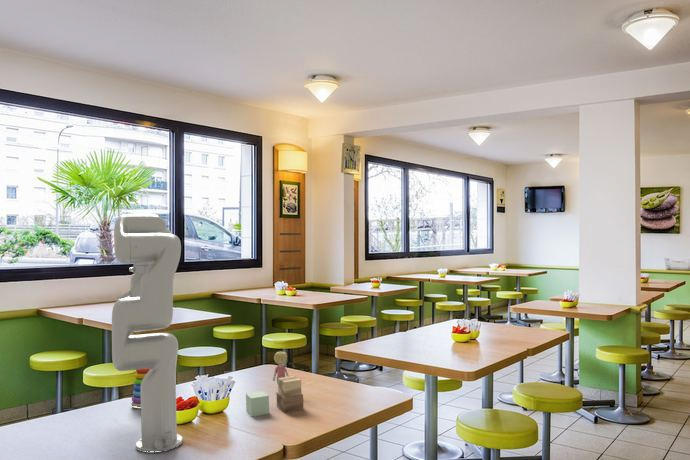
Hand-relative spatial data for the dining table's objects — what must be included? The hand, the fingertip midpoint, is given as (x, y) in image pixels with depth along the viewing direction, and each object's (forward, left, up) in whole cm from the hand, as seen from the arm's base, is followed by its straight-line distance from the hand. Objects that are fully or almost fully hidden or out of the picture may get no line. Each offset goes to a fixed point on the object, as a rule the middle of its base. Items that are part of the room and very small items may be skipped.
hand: (146, 318), depth 197 cm
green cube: (-29, -31, -30) cm, 53 cm away
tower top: (-31, -42, -26) cm, 58 cm away
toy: (-10, -46, -31) cm, 56 cm away
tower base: (-30, -42, -31) cm, 60 cm away
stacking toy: (-2, +2, -31) cm, 31 cm away
